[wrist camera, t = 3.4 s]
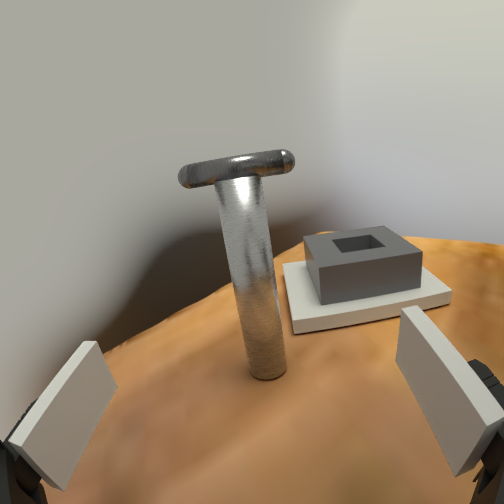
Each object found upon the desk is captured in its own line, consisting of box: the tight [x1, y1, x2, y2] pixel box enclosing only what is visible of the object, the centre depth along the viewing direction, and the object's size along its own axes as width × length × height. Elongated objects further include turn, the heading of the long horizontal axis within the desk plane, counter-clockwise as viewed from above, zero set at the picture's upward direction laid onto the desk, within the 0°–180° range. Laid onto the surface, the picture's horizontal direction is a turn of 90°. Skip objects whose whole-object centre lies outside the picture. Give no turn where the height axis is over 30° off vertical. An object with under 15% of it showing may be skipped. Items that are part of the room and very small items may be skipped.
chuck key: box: [178, 149, 295, 379], centre depth 21 cm, size 8×3×16 cm, turn 88°
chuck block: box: [282, 226, 452, 334], centre depth 33 cm, size 17×15×6 cm
